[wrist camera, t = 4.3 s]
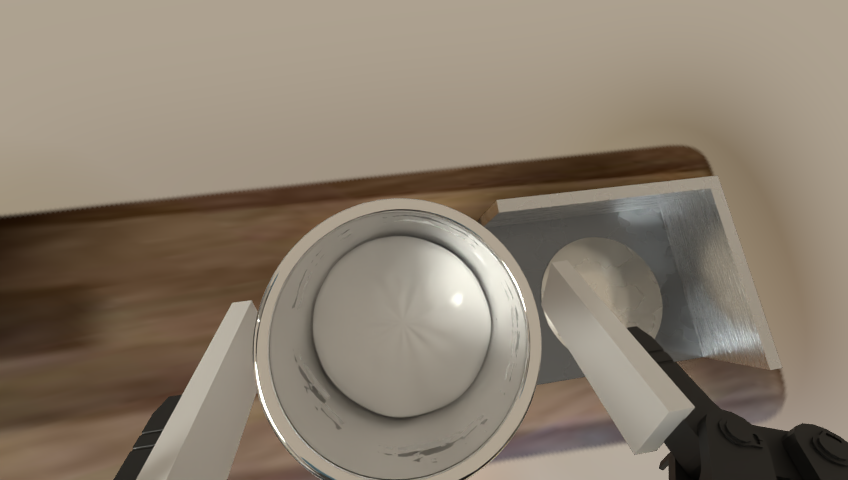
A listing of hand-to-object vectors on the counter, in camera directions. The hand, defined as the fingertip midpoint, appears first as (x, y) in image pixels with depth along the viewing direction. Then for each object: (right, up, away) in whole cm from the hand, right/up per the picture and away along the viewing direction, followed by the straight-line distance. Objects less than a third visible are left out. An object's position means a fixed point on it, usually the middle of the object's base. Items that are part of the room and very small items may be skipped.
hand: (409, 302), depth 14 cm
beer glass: (-1, -2, +8) cm, 8 cm away
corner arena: (+13, -1, +9) cm, 16 cm away
